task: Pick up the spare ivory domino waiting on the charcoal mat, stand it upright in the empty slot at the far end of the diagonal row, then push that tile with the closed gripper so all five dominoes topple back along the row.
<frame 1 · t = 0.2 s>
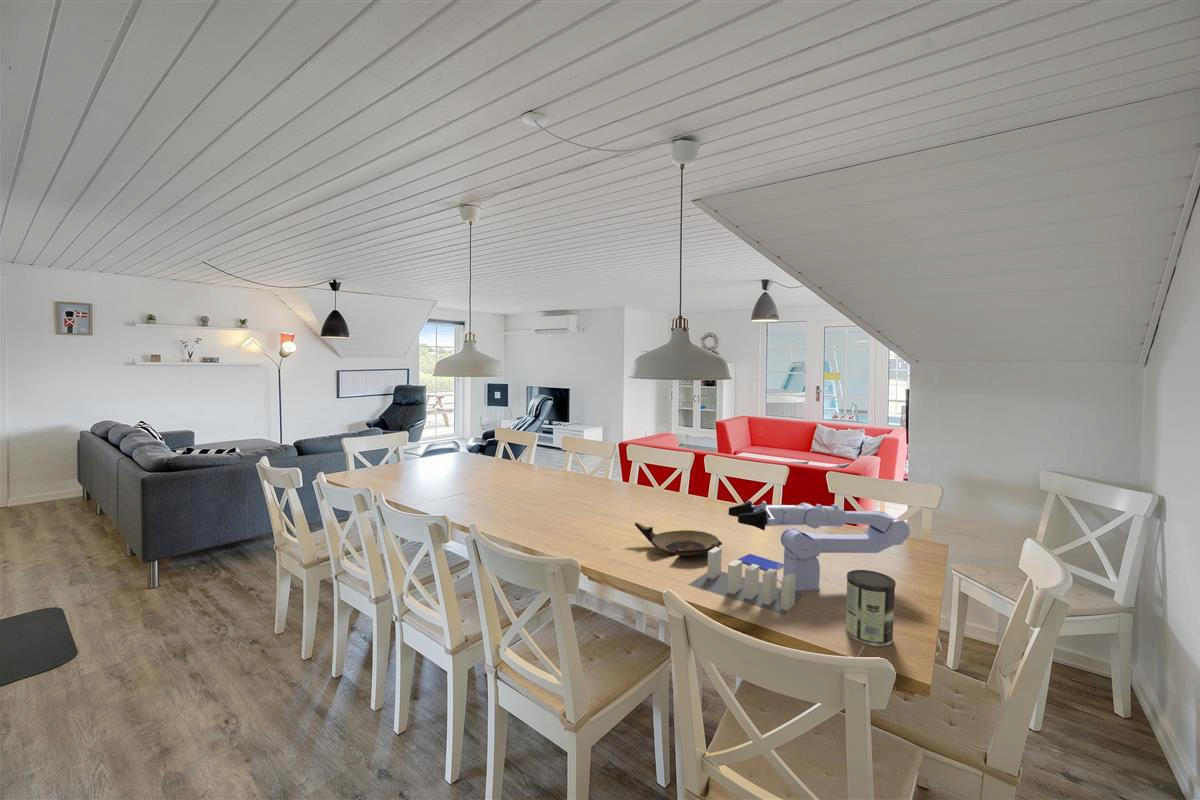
hand: (733, 515, 147), 21 cm above the table, tool horizontal, fingers open, 7 cm apart
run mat: (744, 590, 147), on the table
oil lamp: (678, 550, 179), on the table
domino 1: (787, 606, 137), resting on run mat
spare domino: (714, 575, 156), resting on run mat
domino 4: (734, 590, 146), resting on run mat
hard drive: (760, 566, 166), on the table
domino 3: (751, 595, 143), resting on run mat
domino 2: (769, 600, 140), resting on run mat
coffee can: (868, 635, 123), on the table
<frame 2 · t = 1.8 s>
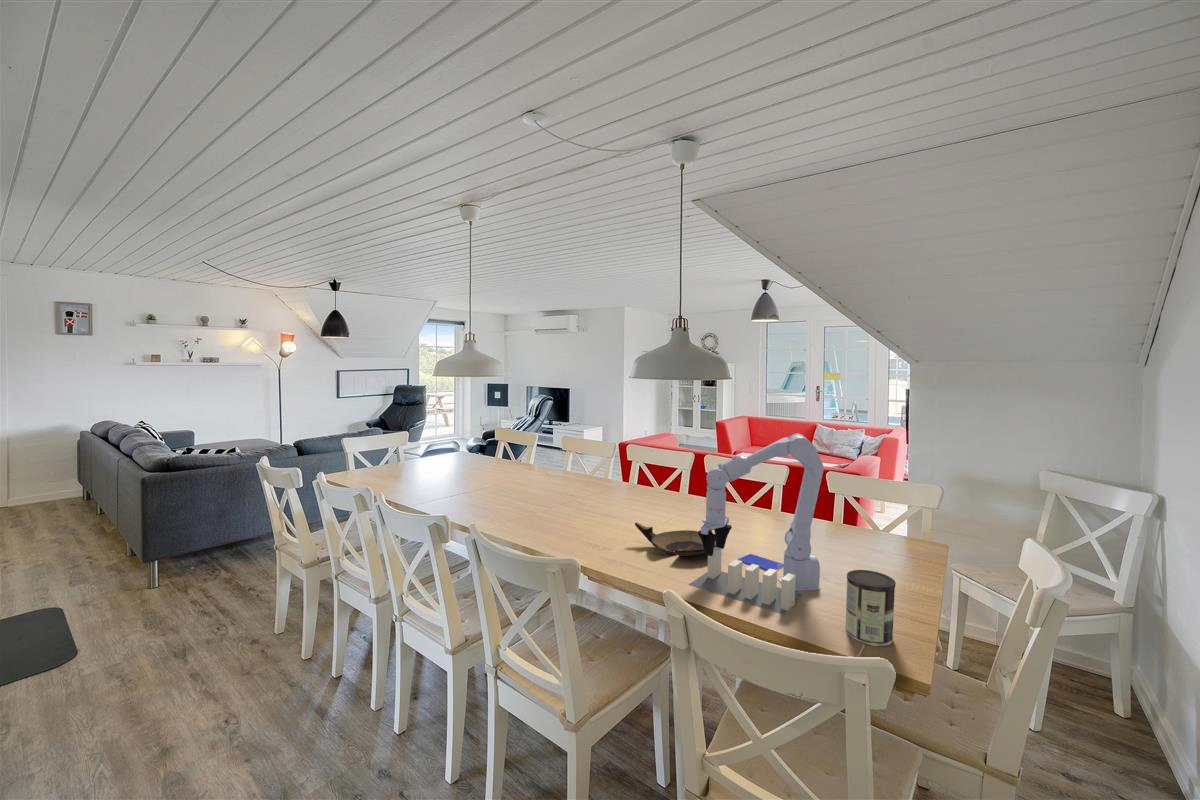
hand: (714, 551, 156), 8 cm above the table, tool pointing down, fingers open, 7 cm apart
nothing on the table moved.
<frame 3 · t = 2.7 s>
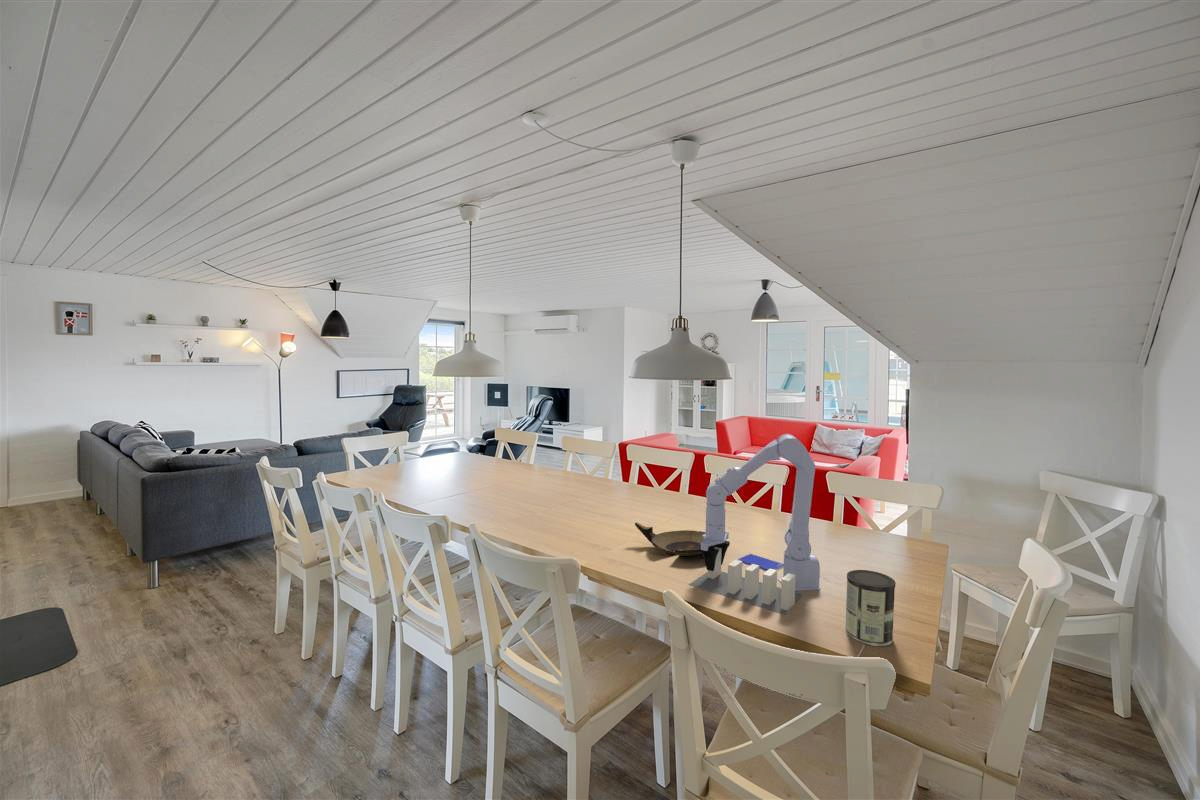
hand: (714, 567, 156), 3 cm above the table, tool pointing down, fingers closed on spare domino, 5 cm apart
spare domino: (714, 575, 156), resting on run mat, touching gripper
everything else where it was.
when the fingers open (4 cm above the table, at t = 6.8 s): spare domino stays where it is, resting on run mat.
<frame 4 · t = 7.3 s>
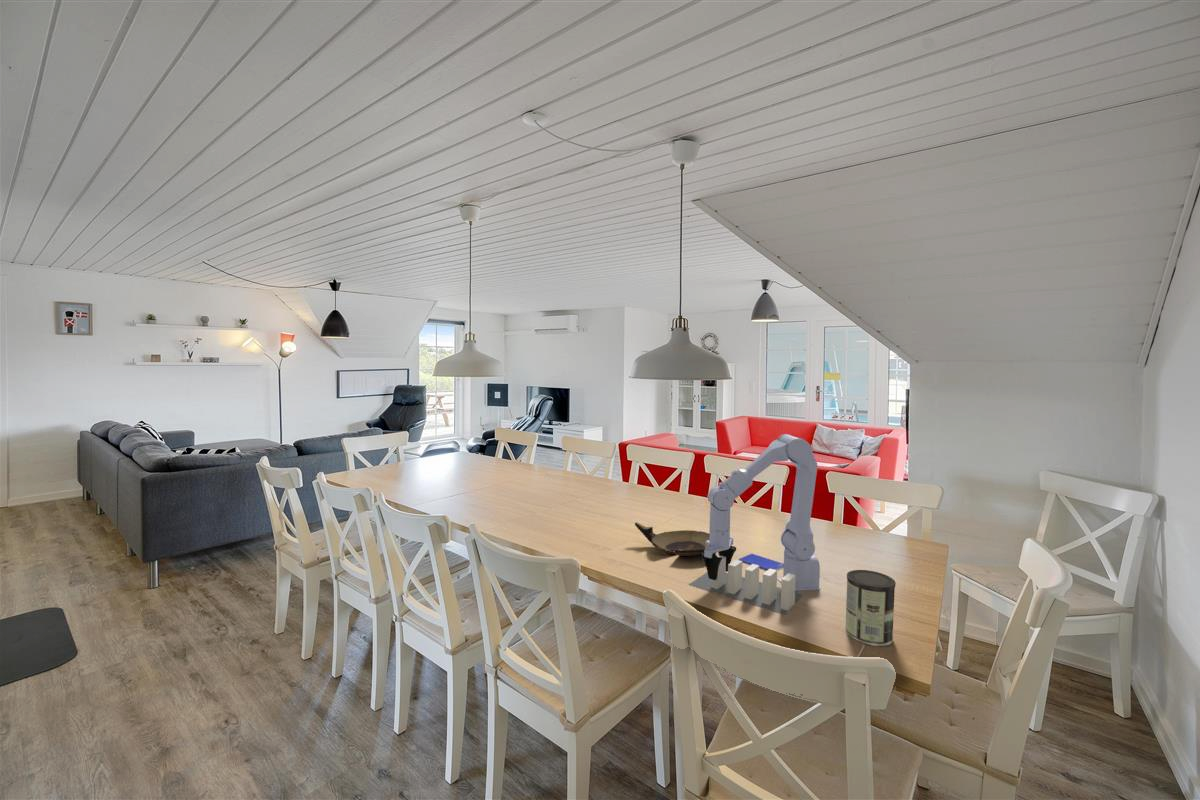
hand: (718, 574, 149), 4 cm above the table, tool pointing down, fingers open, 7 cm apart
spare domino: (718, 585, 149), resting on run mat
everything else where it was.
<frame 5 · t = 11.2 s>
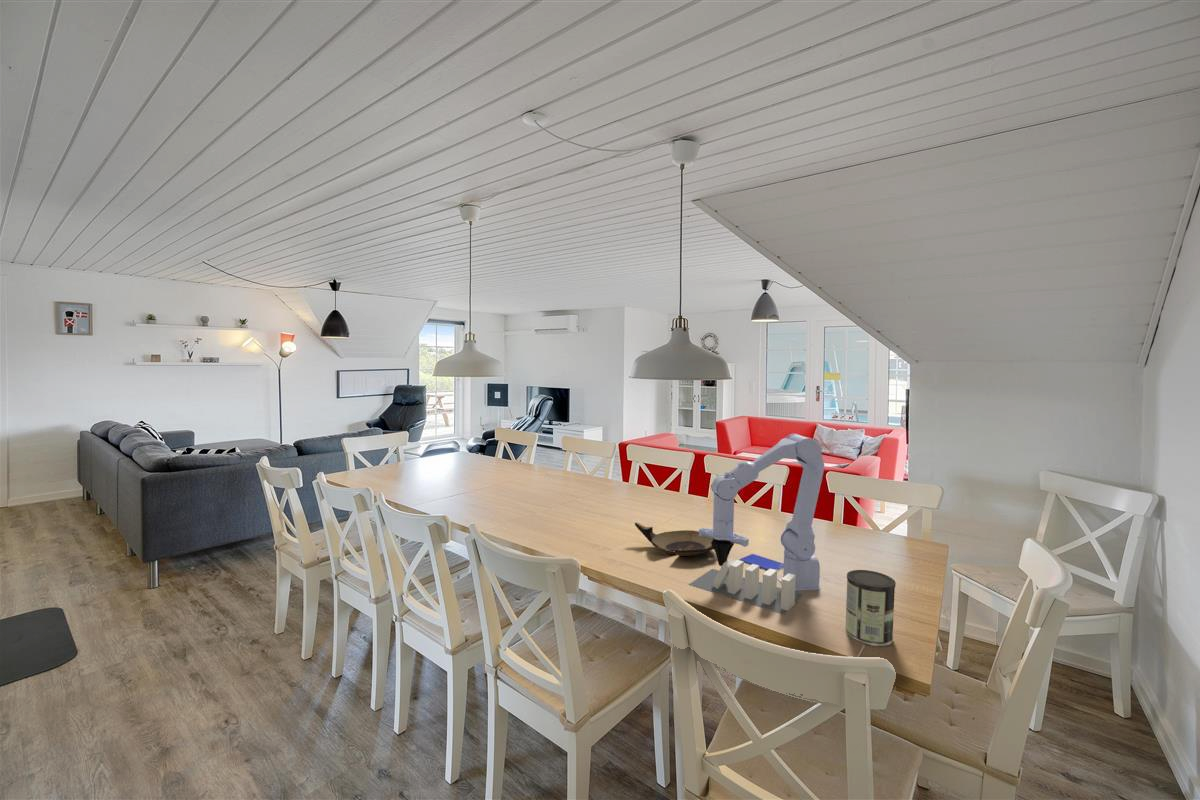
hand: (722, 565, 148), 7 cm above the table, tool pointing down, fingers closed
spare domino: (718, 584, 149), point 1 cm above the table, tilted 25°, touching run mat
everything else where it was.
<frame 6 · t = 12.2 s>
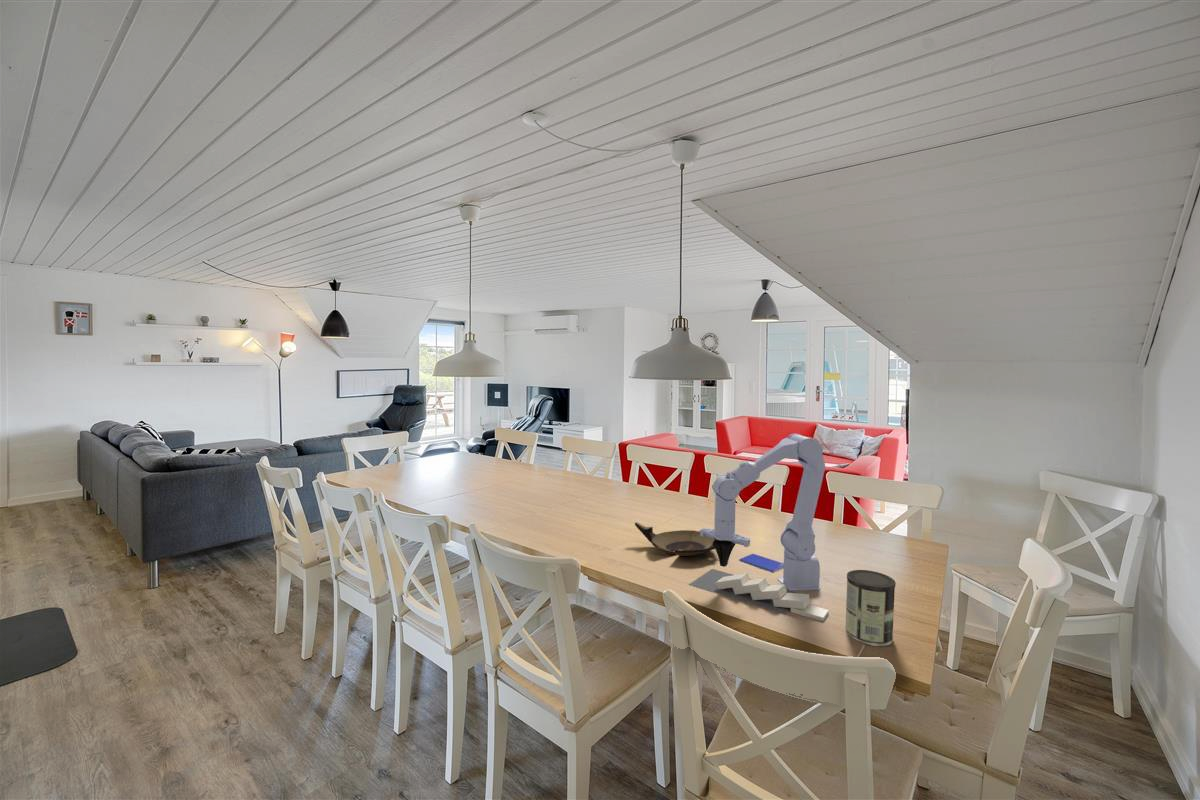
hand: (723, 565, 148), 7 cm above the table, tool pointing down, fingers closed
domino 1: (793, 608, 136), on the table, tilted 90°, touching domino 2
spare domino: (720, 583, 149), point 1 cm above the table, tilted 67°, touching domino 4, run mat
domino 4: (737, 588, 146), point 1 cm above the table, tilted 67°, touching domino 3, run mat, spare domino
domino 3: (755, 593, 142), point 1 cm above the table, tilted 70°, touching domino 4, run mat
domino 2: (776, 599, 139), point 1 cm above the table, tilted 78°, touching domino 1
everything else where it was.
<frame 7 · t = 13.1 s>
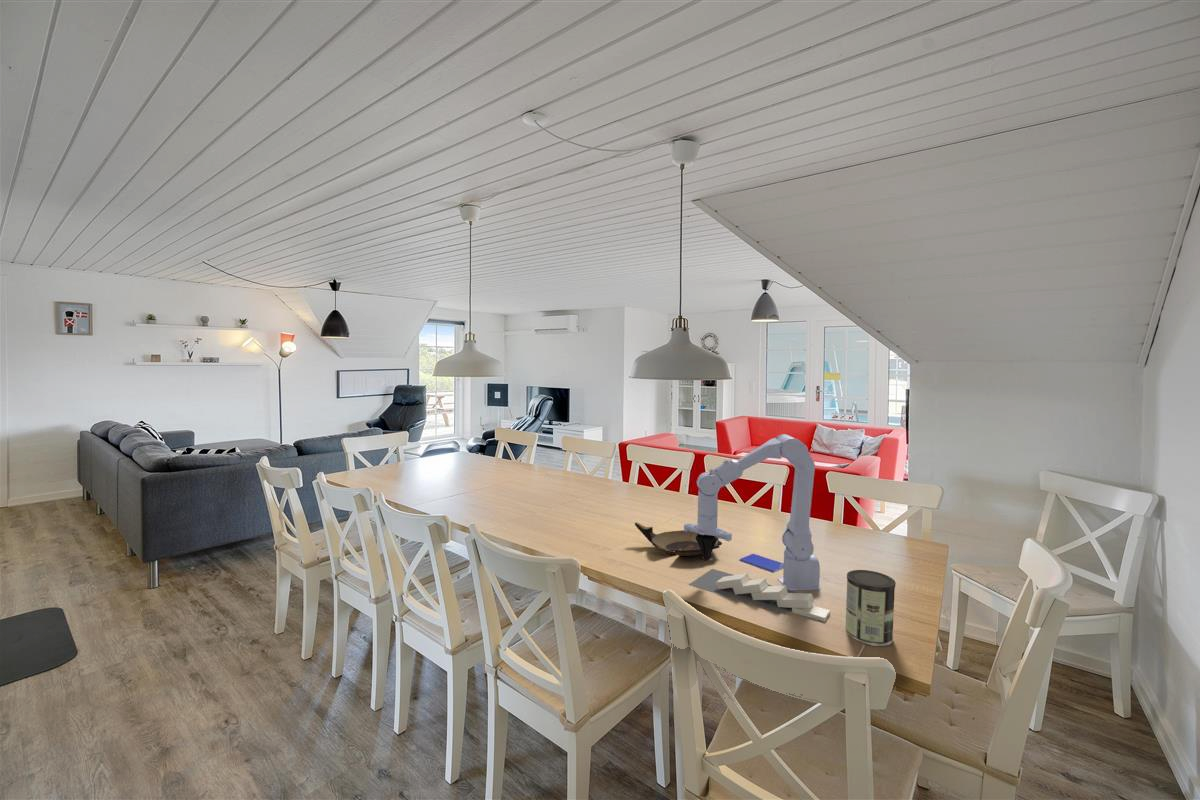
hand: (706, 559, 152), 7 cm above the table, tool pointing down, fingers closed
domino 3: (755, 593, 142), point 1 cm above the table, tilted 72°, touching domino 2, domino 4, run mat
domino 2: (779, 599, 138), point 1 cm above the table, tilted 76°, touching domino 1, domino 3, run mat
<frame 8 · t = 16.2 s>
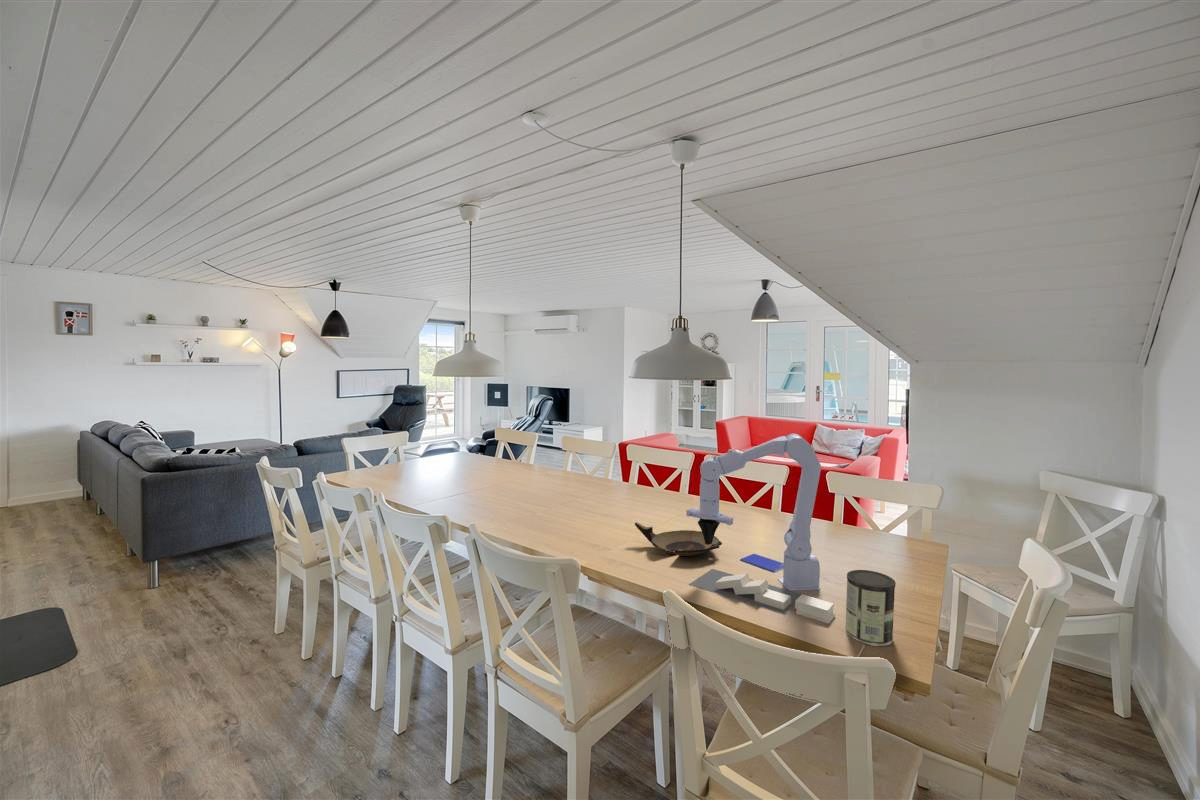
hand: (708, 543, 155), 10 cm above the table, tool pointing down, fingers closed
domino 1: (799, 610, 135), on the table, tilted 90°, touching domino 2
domino 3: (758, 593, 142), point 1 cm above the table, tilted 90°, touching domino 4, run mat
domino 2: (798, 601, 136), point 2 cm above the table, tilted 90°, touching domino 1
at the end: domino 1 tilted 90°; domino 3 tilted 90° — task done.
